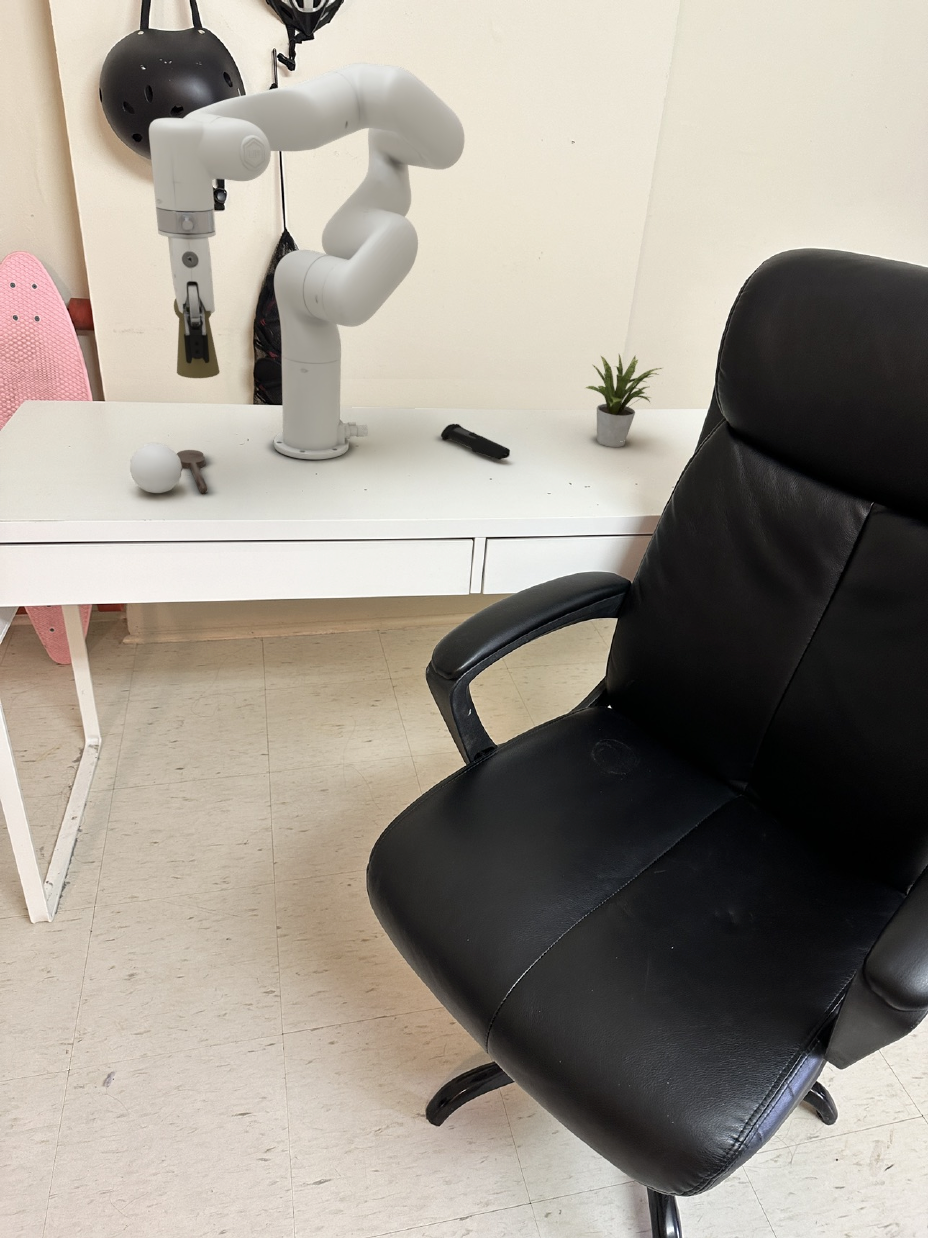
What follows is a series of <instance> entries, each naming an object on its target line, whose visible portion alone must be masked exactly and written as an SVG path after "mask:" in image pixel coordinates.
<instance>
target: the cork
mask: <svg viewBox="0 0 928 1238" xmlns="http://www.w3.org/2000/svg"><path fill="white" fill-rule="evenodd" d="M173 302H174V303H173V311H174V313H175V315H176V316H177V318H178V333H177V335H178V336H177V338H178V339H177V357H176V374H177V375H179V376H180V377H183V378H188V379H208V378H209V379H210V378H213V377H217V376H218V375H219V374H220V367H219V363H218V362H219V361H218V357H217V352H216V347H215V342H214V338H213V332H212V328H211V322H210V317H211V316H212V314H210V311H206V309H205V307H204V313H205V328H206V334H208V347H209V362H208V363H205V361H204V360H203V358H201V359H194V358H192V362H191V363H187V362H186V353H185V342H184V334H186V331H185V320H184V314H183V313H184V310H183V313H181V312H180V311H179V308H178V304H177V300H176V298H175V299H174V301H173ZM200 302H201V301H200ZM186 311H187V312H190V307H186ZM199 312H201V307H199ZM189 319H191V318H190V316H188V321H189ZM200 319H201V316H200ZM189 333H190V332H189Z"/></svg>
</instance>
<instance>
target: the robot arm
mask: <svg viewBox="0 0 928 1238" xmlns="http://www.w3.org/2000/svg"><path fill="white" fill-rule="evenodd" d="M364 129H368V131H367V145H368V168H367V172H366V175H365V177H364V178H363V180H362V182H361V183H360V184H359V185H358V187H357V188H356V189H355V190H354V192H353V193H351V195H350V196H349V197H348V198H347V199H346V200H345V202H344V203H343V204H341V206H340V207H339V208H338V209H337V211H335V213H334V214H333V215H332V216H331V217H330V219H328V221H327V223H326V224H325V226H324V228H323V230H322V234H321V245H322V246H321V247H322V249H323V252H320V251H315V250H310V249H297V250H292V251H290V252H289V253H286V254H285V255H284V256H283V257H282V258H281V259H280V261H279V262H278V264H277V265H276V268H275V271H274V277H273V288H274V295H275V300H276V305H277V311H278V315H279V322H280V336H281V393H282V394H281V397H282V398H281V399H282V400H281V402H282V403H281V405H282V432H280V433H278V434H277V435H275V437H274V438H273V447H274V449H275V450H276V451H277V452H279V453H280V454H282V455H285V456H287V457H290V458H296V459H301V460H326V459H327V460H328V459H333V458H337V457H339V456H342V455H344V454H345V453H347V452H348V450H349V446H350V441H349V439H350V438H351V437H356V438H360V437H367V436H368V434H369V430H368V425H367V424H359V425H357V423H356V422H355V421H350V422H343V421H342V420H341V379H342V377H341V375H342V374H341V372H342V369H341V368H342V341H341V336H340V332H339V328H338V325H339V326H342V327H347V328H348V327H349V328H350V327H351V328H353V327H359V326H361V325H363V324H365V323H367V322H368V321H369V320H370V319H371V318H372V317H373V316H374V315H375V314H376V313H377V311H378V310H380V308H381V307H382V306H383V305H384V303H385V302H386V301H387V300H388V299H389V298H390V296H391V295H392V294H393V293H394V292H395V291H396V289H398V287H399V286H400V285H401V283H402V282H403V281H404V280H405V279H406V277H407V276H408V275H409V273H410V272H411V270H412V268H413V266H414V264H415V261H416V258H417V255H418V249H419V239H418V234H417V233H418V232H417V230H416V228H415V225H413V223H412V221H410V220H409V219H408V218H407V217H406V216H407V215H408V213H409V211H410V208H411V205H412V191H411V189H412V188H411V182H410V170H409V166H410V167H411V166H412V167H417V168H418V167H419V168H424V169H431V170H446V169H449V168H451V167H453V166H454V165H455V164H457V162H458V161H459V160H460V158H461V156H462V154H463V153H464V148H465V140H466V139H465V131H464V127H463V124H462V121H461V120H460V118H459V116H458V115H457V113H456V112H455V111H454V110H453V109H452V108H451V107H450V106H449V105H448V104H447V103H446V102H445V101H444V100H442V99H441V98H440V97H439V96H438V95H437V94H436V93H435V92H434V91H433V89H431V88H430V87H429V86H428V85H427V84H426V83H424V82H423V81H422V80H421V79H419V77H417V76H416V75H415V74H414V73H412V72H410V71H409V70H407V69H405V68H404V67H402V66H398V65H389V64H378V63H377V64H376V63H368V62H355V63H350V64H347V65H343V66H340V67H338V68H335V69H332V70H330V71H327V72H325V73H322V74H319V75H317V76H314V77H311V78H309V79H306V80H303V81H301V82H298V83H293V84H291V85H288V86H282V87H276V88H272V89H267V90H264V91H263V90H262V91H260V92H255V93H249V94H245V95H239V96H236V97H231V98H227V99H224V100H221V101H217V102H215V103H212V104H209V105H206V106H203V107H201V108H198V109H196V110H193V111H191V112H189V113H188V114H186V115H185V116H184V117H183V118H182V117H181V118H179V117H161V118H156V119H153V120H152V121H151V122H150V124H149V127H148V139H149V148H150V161H151V171H152V180H153V191H154V200H155V201H154V202H155V213H156V225H157V234H159V235H161V236H162V237H167V242H168V253H169V261H170V262H169V263H170V269H171V270H170V271H171V277H172V284H173V291H174V295H175V299H176V300H177V304H178V308H179V311H180V312H181V313H183V310H184V313H183V314H184V320H185V331H186V334H184V342H185V353H186V362H187V363H191V362H192V358H194V359H201V358H203V360H204V361H205V363H208V362H209V347H208V334H206V328H205V313H204V307H205V309H206V311H210V314H211V315H212V314H214V313H215V311H216V309H215V308H216V307H215V297H214V296H215V295H214V283H213V269H212V259H211V248H210V241H209V238H212V237H214V236H216V234H217V233H216V231H217V230H216V216H215V215H216V214H215V200H214V184H213V181H214V180H227V181H234V182H249V181H253V180H256V179H258V178H259V177H260V176H261V175H263V174H264V172H266V170H267V169H268V166H269V164H270V161H271V154H272V152H303V151H311V150H316V149H319V148H321V147H323V146H325V145H328V144H331V143H332V142H335V141H337V140H340V139H342V138H344V137H347V136H349V135H351V134H353V133H356V132H359V131H361V130H364ZM200 301H201V302H200ZM186 307H190V312H187V311H186ZM199 307H201V312H199ZM188 316H190V318H191V319H189V321H188ZM200 316H201V319H200ZM189 332H190V333H189Z"/></svg>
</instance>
